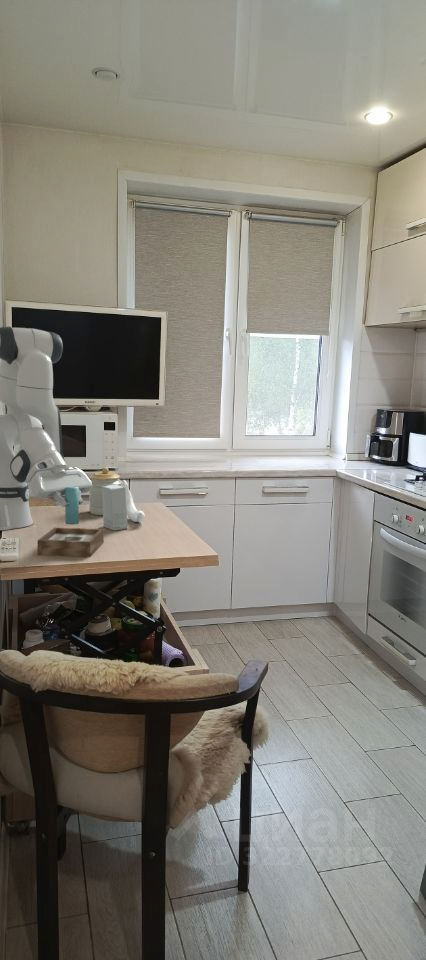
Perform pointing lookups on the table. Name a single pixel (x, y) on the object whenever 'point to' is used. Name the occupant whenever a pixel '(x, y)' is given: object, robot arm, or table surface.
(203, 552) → the table surface
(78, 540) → the peg box
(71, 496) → the teal rectangular block
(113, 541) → the table surface
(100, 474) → the jar
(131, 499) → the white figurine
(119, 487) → the skincare box
